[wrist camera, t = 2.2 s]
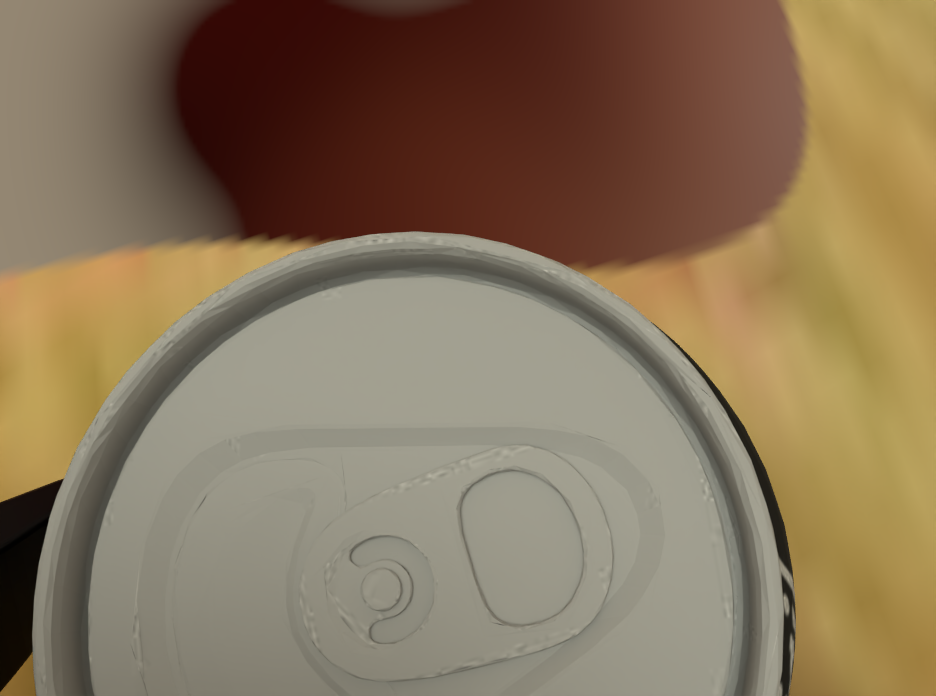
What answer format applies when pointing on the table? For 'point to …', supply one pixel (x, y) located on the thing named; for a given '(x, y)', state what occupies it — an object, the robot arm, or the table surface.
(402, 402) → the beverage can
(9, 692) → the table surface
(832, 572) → the table surface
